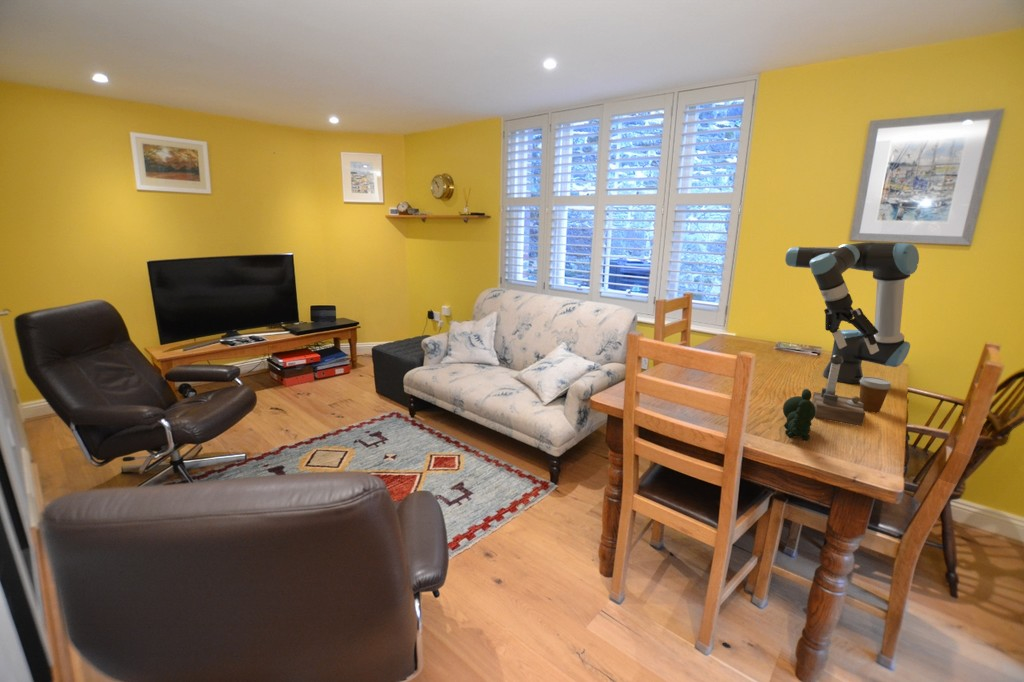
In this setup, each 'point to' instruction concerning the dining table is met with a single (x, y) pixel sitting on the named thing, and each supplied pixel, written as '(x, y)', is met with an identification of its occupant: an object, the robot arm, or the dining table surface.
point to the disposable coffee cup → (873, 393)
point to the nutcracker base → (838, 408)
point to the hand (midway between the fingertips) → (858, 349)
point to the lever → (833, 373)
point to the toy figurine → (799, 415)
